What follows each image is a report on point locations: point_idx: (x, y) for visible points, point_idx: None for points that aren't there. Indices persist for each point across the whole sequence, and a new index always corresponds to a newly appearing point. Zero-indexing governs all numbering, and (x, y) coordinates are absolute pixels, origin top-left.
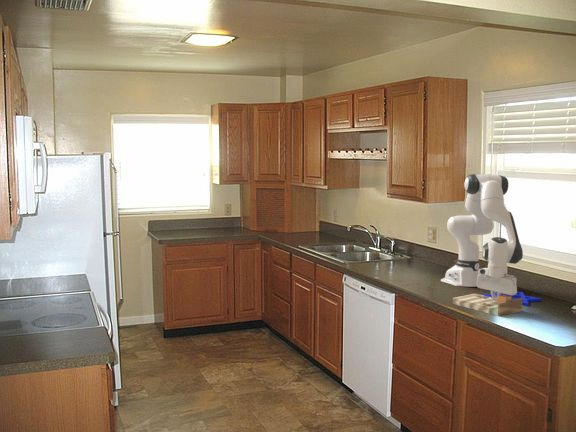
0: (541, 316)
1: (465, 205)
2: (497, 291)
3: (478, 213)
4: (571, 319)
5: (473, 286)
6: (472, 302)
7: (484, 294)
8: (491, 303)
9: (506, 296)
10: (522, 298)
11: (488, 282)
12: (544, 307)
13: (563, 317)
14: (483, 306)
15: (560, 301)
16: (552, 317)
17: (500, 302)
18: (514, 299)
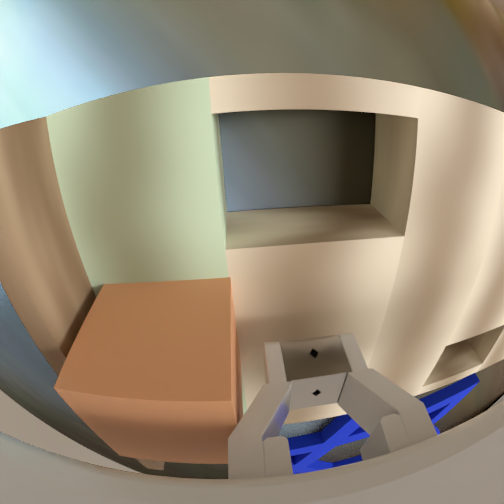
0: (40, 372)
1: None
2: (256, 494)
3: None
4: (11, 398)
5: (493, 404)
6: (494, 127)
7: (460, 398)
8: (337, 288)
9: (145, 444)
10: (308, 468)
11: None
12: None
13: (33, 405)
14: (322, 75)
15: None
16: (28, 385)
17: (162, 317)
18: (323, 452)
